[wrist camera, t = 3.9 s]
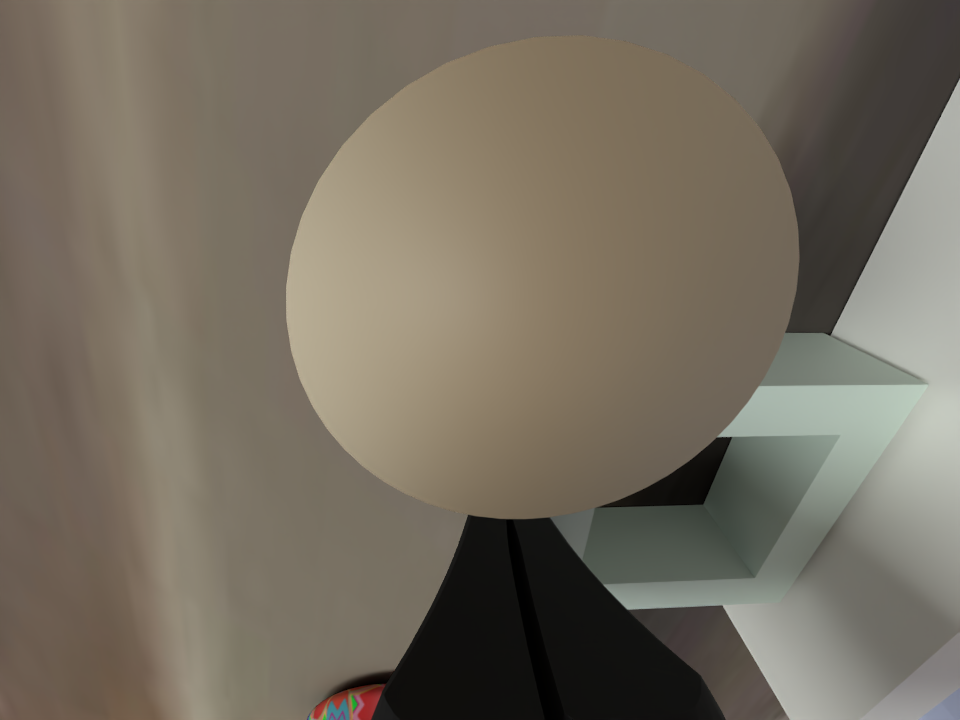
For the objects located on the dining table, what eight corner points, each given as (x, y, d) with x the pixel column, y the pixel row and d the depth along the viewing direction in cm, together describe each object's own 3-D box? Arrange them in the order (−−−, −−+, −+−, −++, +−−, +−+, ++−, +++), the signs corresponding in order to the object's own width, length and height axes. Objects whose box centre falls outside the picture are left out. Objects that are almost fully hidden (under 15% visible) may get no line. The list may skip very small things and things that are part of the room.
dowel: (549, 132, 9) (910, 52, 2) (536, 269, 10) (706, 513, 3) (410, 127, 9) (212, 14, 2) (417, 268, 10) (332, 525, 3)
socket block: (823, 333, 12) (929, 384, 9) (726, 528, 16) (779, 602, 13) (534, 332, 11) (559, 388, 9) (514, 535, 16) (526, 614, 13)
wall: (1073, 22, 8) (2111, -197, 3) (748, 578, 18) (871, 756, 13) (991, 17, 8) (1928, -222, 3) (707, 579, 18) (813, 760, 12)
